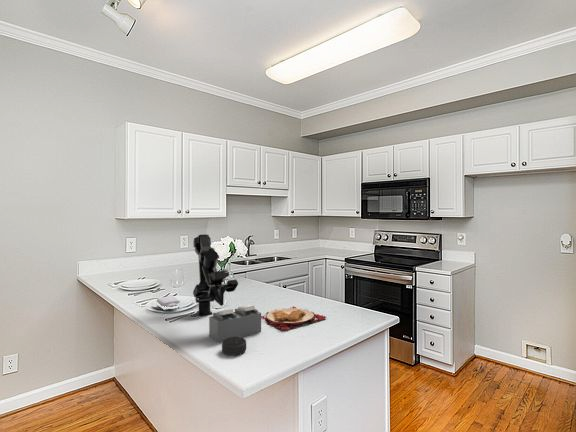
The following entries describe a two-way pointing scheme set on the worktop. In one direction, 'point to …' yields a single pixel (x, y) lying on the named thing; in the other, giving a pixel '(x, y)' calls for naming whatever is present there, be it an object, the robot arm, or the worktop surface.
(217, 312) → the rocker
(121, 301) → the worktop surface
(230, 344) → the smart speaker
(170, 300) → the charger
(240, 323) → the switch box
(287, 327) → the plate with food
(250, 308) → the block
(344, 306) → the worktop surface
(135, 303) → the worktop surface
